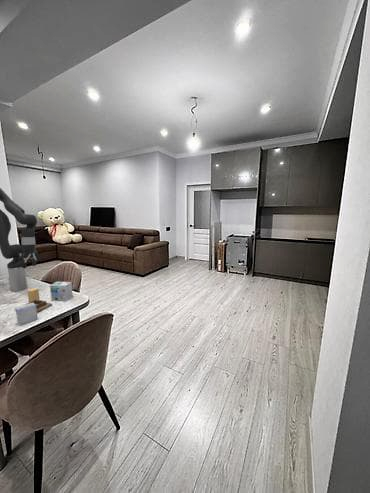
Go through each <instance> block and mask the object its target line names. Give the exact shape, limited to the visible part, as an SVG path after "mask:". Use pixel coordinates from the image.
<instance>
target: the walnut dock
mask: <svg viewBox="0 0 370 493" xmlns="http://www.w3.org/2000/svg"><path fill="white" fill-rule="evenodd" d="M30 303H34V304H35V305H36V310H37V314H39V313H41V312H42V311H45V309H46V310H47V309H48V308H50V307H52V306H53V303H51V302H47V301H46V300H34V301H32V302H28V303H26V304H30ZM26 304H25V303H24V305H26Z"/></svg>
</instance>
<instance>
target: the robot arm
mask: <svg viewBox="0 0 370 493" xmlns="http://www.w3.org/2000/svg"><path fill="white" fill-rule="evenodd" d="M0 202H2V203H3V206H4V209H5V210H6V211H7V212H8V213H10V215H12V216H13V217H14V219H15V221H17V223H19V224H21V225H23V226H25V227H23V228H22V229H21V240H20V241H21V243H20V244H19V243H15V244H10V241H9V235H10V232H11V230H12V225H11V221H10V219H9V217H8V215H7V214H6V213H5V212H4V211H3V210H2V209H1V208H0V252H1V255H2V257H4V259H6V260H11V261H9V262H8V263H7V264H6V266H7V272H8V274H7V275H8V285H9V288H10V291H11V292H15V293H16V292H21V291H24V290H27V289H28V285H27V283H28V282H27V276H26V271H25V270H26V269H27V261H28V260H29V259H31V263H32V267H36V266H37V261H38V260H39V259H40V258H39V251H38V250H36V237H35V236H36V235H35V231H36V227H37V223H38V219H37V217H36V216H35V214H28V213H27V214H26V212H25V210H24V209H23V208H22V207H21V206H20V205H19V204H17V203H16V202H14V201H13V200H12V199H11V197H9V195H8V194H7V193H6V192H5V191H4V190H3V189H2V188H1V187H0Z"/></svg>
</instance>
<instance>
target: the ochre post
mask: <svg viewBox="0 0 370 493" xmlns="http://www.w3.org/2000/svg"><path fill="white" fill-rule="evenodd" d="M26 291H27V297H28V298H27V299H28V303H30V302H32V301H34V300H40V291H39V288H35V287H33V288H30V289H28V290H27V289H26Z"/></svg>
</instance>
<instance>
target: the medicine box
mask: <svg viewBox="0 0 370 493" xmlns="http://www.w3.org/2000/svg"><path fill="white" fill-rule="evenodd" d="M29 303H30V302H29ZM14 309H15V315H16V320H17V324H18V325H19V326H21V325H22V326H23V325H25V324H27V323H31V322H33V321H36V320H38V313H37V310H36V305H35V304H34V303H30V304H27V303H26V305H25V304H22V305H20V306H16V307H15V308H14Z"/></svg>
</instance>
